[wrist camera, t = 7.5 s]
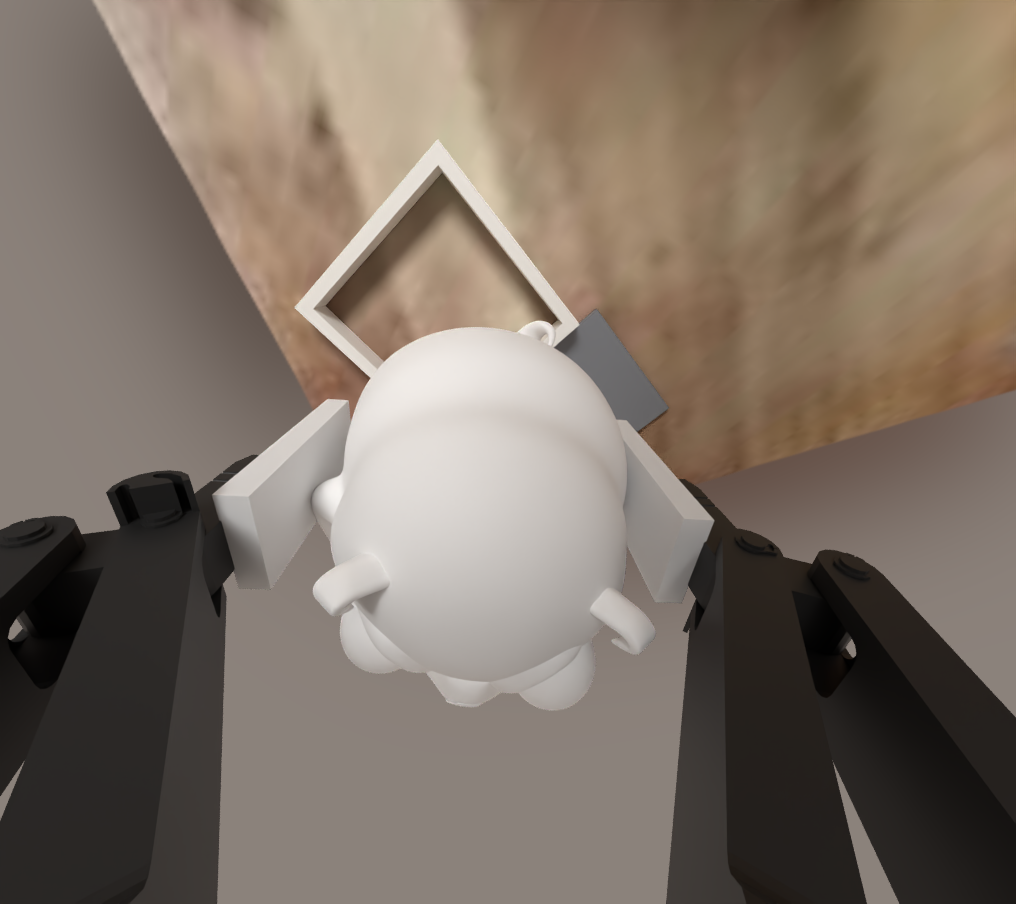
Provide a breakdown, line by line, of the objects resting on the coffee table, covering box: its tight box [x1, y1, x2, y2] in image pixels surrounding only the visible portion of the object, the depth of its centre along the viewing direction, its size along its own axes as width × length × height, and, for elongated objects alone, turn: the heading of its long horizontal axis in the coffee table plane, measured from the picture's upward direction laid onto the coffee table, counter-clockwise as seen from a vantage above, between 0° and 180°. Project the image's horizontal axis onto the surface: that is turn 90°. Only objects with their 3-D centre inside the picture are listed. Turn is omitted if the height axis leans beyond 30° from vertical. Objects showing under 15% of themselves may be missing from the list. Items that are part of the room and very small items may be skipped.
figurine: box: [311, 321, 656, 711], centre depth 12 cm, size 10×10×12 cm
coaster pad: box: [553, 309, 669, 432], centre depth 37 cm, size 12×12×1 cm
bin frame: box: [295, 139, 580, 378], centre depth 32 cm, size 16×16×2 cm
